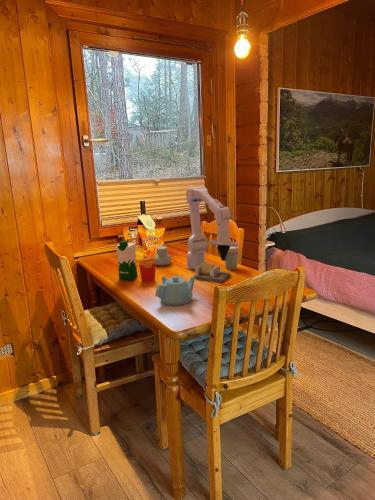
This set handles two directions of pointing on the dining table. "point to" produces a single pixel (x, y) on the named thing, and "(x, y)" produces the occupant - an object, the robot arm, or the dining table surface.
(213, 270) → the free jaw
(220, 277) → the vise base
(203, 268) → the brass block
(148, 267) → the french fries
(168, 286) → the teapot
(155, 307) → the dining table surface
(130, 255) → the milk carton
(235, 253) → the coffee cup
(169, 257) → the air freshener
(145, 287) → the dining table surface
